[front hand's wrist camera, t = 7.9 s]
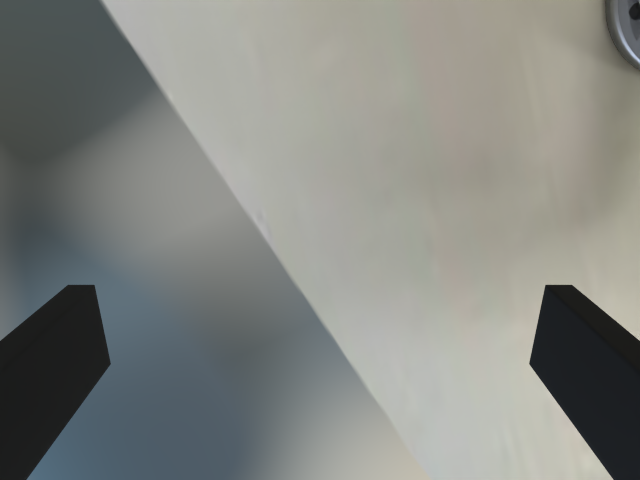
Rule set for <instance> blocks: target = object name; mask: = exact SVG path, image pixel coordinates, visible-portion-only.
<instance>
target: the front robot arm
mask: <svg viewBox="0 0 640 480" xmlns="http://www.w3.org/2000/svg"><path fill="white" fill-rule="evenodd" d="M606 18H607V24H608V29H609V32H610V35H611V38H612V40H613V42H614V44H615V46H616V47H617V49H618V51H619V52H620V53H621V55H622V56H623V57H624V58H625V59H626V60H627V61H628V62H629V63H630V64H631V65H633V66H634V67H636V68H637V69H639V70H640V0H606ZM110 364H111V363H110V358H109V354H108V348H107V344H106V339H105V334H104V329H103V324H102V319H101V314H100V310H99V305H98V300H97V295H96V290H95V286H94V285H67V286H66V287H65V288H64V289H63V290H61V291H60V292H59V293H58V294H57V295H55V296H54V297H53V298H52V299H50V300H49V301H48V302H47V303H46V304H44V305H43V306H42V307H41V308H40V309H38V310H37V311H36V312H35V313H34V314H32V315H31V316H30V317H29V318H28V319H26V320H25V321H24V322H23V323H21V324H20V325H19V326H18V327H17V328H15V329H14V330H13V331H12V332H11V333H9V334H8V335H7V336H6V337H5V338H3V339H2V340H1V341H0V480H26V479H27V478H28V477H29V475H30V474H31V473H32V471H33V470H34V469H35V467H36V466H37V464H38V463H39V462H40V460H41V459H42V458H43V456H44V455H45V453H46V452H47V451H48V449H49V448H50V447H51V445H52V444H53V442H54V441H55V440H56V438H57V437H58V436H59V434H60V433H61V431H62V430H63V429H64V427H65V426H66V425H67V423H68V422H69V420H70V419H71V418H72V416H73V415H74V414H75V412H76V411H77V409H78V408H79V407H80V405H81V404H82V403H83V401H84V400H85V398H86V397H87V396H88V394H89V393H90V392H91V390H92V389H93V388H94V386H95V385H96V383H97V382H98V381H99V379H100V378H101V377H102V375H103V374H104V372H105V371H106V370H107V368H108V367H109V366H110ZM529 364H530V366H531V367H532V368H533V370H534V371H535V372H536V374H537V375H538V377H539V378H540V379H541V381H542V382H543V383H544V385H545V386H546V388H547V389H548V390H549V392H550V393H551V394H552V396H553V397H554V399H555V400H556V401H557V403H558V404H559V405H560V407H561V408H562V409H563V411H564V412H565V414H566V415H567V416H568V418H569V419H570V420H571V422H572V423H573V425H574V426H575V427H576V429H577V430H578V431H579V433H580V434H581V436H582V437H583V438H584V440H585V441H586V442H587V444H588V445H589V447H590V448H591V449H592V451H593V452H594V453H595V455H596V456H597V458H598V459H599V460H600V462H601V463H602V464H603V466H604V467H605V469H606V470H607V471H608V473H609V474H610V475H611V477H612V478H613V479H614V480H640V341H639V340H638V339H637V338H635V337H634V336H633V335H632V334H631V333H629V332H628V331H627V330H626V329H625V328H623V327H622V326H621V325H620V324H619V323H617V322H616V321H615V320H614V319H612V318H611V317H610V316H609V315H608V314H606V313H605V312H604V311H603V310H602V309H600V308H599V307H598V306H597V305H596V304H594V303H593V302H592V301H591V300H590V299H588V298H587V297H586V296H585V295H583V294H582V293H581V292H580V291H579V290H577V289H576V288H575V287H574V286H573V285H545V290H544V295H543V300H542V305H541V310H540V314H539V319H538V324H537V329H536V334H535V339H534V344H533V348H532V353H531V358H530V363H529Z"/></svg>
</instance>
